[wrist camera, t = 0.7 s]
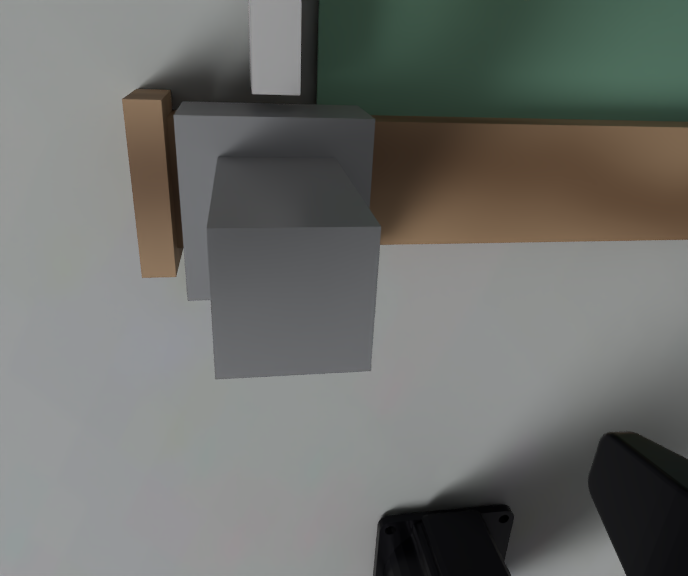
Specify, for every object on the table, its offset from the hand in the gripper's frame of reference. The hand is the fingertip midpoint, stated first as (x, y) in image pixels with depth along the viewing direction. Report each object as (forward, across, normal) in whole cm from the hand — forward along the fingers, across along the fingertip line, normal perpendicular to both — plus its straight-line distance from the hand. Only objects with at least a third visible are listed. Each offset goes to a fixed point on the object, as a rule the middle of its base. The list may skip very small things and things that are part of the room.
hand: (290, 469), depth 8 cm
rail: (+13, -8, -1) cm, 15 cm away
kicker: (+12, 0, -5) cm, 13 cm away
